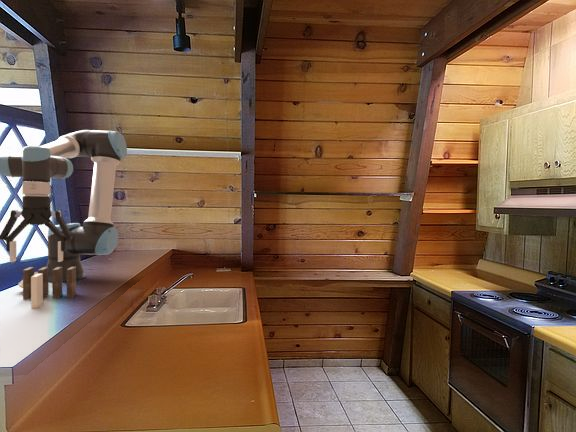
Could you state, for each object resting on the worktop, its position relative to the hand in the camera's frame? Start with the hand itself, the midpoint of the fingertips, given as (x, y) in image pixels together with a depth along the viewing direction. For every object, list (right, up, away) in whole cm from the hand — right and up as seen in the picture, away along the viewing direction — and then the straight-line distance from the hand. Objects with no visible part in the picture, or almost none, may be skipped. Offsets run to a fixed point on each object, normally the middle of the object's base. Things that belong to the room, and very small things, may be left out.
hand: (37, 261), depth 124 cm
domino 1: (-9, -14, +10) cm, 19 cm away
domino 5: (+4, -14, +13) cm, 20 cm away
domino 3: (-5, -14, +11) cm, 18 cm away
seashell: (-14, -13, +17) cm, 26 cm away
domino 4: (-1, -14, +12) cm, 18 cm away
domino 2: (-1, -14, +1) cm, 15 cm away
